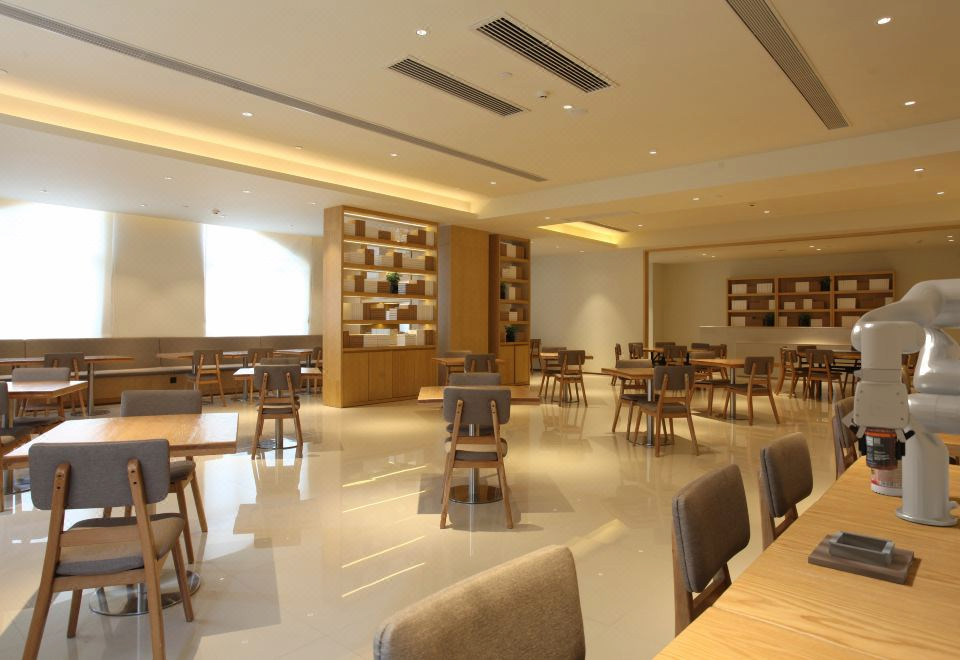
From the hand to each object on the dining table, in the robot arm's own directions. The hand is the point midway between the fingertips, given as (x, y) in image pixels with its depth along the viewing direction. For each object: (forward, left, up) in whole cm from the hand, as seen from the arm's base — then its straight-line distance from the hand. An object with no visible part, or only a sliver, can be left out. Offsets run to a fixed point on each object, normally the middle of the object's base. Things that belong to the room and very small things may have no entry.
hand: (881, 456), depth 133 cm
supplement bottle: (0, 0, -3) cm, 3 cm away
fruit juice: (-43, -28, -20) cm, 55 cm away
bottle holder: (+14, +5, -19) cm, 24 cm away
